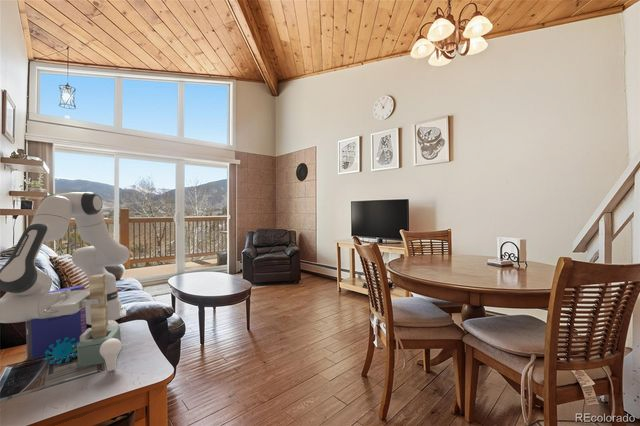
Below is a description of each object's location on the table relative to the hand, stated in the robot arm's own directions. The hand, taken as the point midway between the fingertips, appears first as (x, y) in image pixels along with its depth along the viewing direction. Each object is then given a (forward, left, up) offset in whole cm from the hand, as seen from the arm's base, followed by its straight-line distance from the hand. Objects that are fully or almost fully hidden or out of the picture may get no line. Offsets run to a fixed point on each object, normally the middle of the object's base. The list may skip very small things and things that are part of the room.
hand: (101, 298), depth 107 cm
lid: (0, -1, -15) cm, 15 cm away
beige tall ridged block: (0, -1, -15) cm, 15 cm away
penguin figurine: (-13, -1, -23) cm, 26 cm away
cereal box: (-17, -20, -22) cm, 34 cm away
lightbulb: (+14, +6, -22) cm, 27 cm away
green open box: (0, -1, -22) cm, 22 cm away
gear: (-3, -13, -23) cm, 26 cm away
